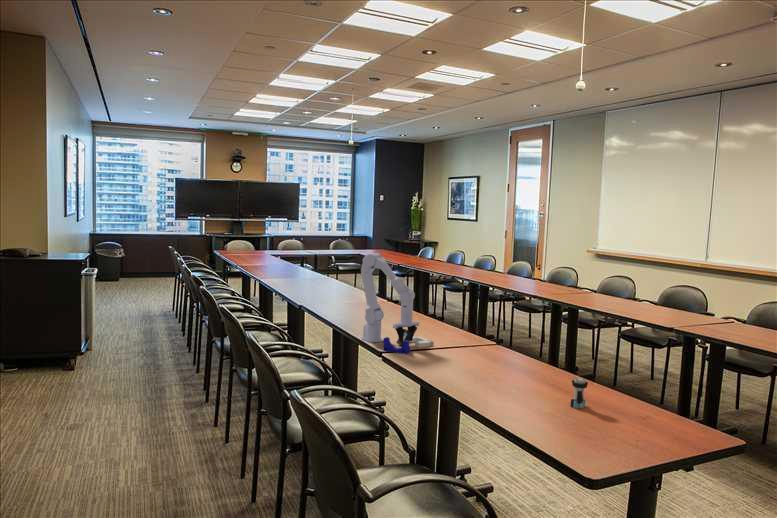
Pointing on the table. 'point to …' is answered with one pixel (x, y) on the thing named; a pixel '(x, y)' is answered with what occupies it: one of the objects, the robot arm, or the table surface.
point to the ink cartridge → (405, 337)
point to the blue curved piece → (403, 350)
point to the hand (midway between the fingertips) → (405, 341)
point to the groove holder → (421, 342)
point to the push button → (579, 393)
